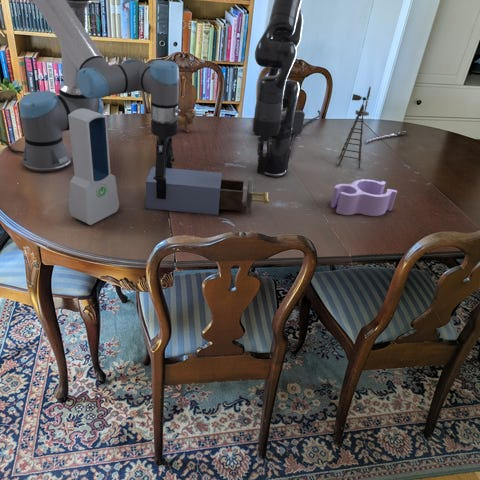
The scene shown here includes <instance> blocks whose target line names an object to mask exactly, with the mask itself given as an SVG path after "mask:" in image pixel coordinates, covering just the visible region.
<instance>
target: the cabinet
mask: <svg viewBox="0 0 480 480" xmlns="http://www.w3.org/2000/svg"><path fill="white" fill-rule="evenodd" d="M155 170H156V166H151V169H150V171H149V173H148V175H147V177H146V180H145V209H148V210H160V211H170V212H171V211H172V212H182V213H191V214H204V215H214V216H215V215H216V216H218V215H219V211H220V209H219V197H220V187H221V179H223V173H222V172H215V171H214V172H213V171H203V170H202V171H201V170H194V169H193V170H192V169H181V168H173V167H172V168H166V175H165V177H166V199H156V180H155V179H154V177H155Z"/></svg>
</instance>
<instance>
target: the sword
mask: <svg viewBox="0 0 480 480" xmlns="http://www.w3.org/2000/svg"><path fill="white" fill-rule="evenodd" d="M404 134H406V133H402V134H400V132H393V133H390V134H387V135H381V136H378V137H374V138H370V139H368V140H366V141H365V144H368V143H370V142H374V141H378V140H381V139H386V138H390V137H394V136H395V137H398V136H399V135H404Z"/></svg>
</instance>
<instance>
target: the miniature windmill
mask: <svg viewBox="0 0 480 480" xmlns="http://www.w3.org/2000/svg"><path fill="white" fill-rule="evenodd" d="M371 90H372V89H371V86H369V87H368V90H367V93H366V94H367V95H366V96H361V95H359V94H355V93H353V94H352V98H351V101H362V104H361V106H360V107H359V108H360V109H359V110H357V109H356V110H355V115H356V117H355V120H354V122H353V123H352V127H351V128H350V131H349V133H348V136H347V138H346V139H345V142H344V144H343V147H342V149H341V152H340V154H339V157H338V158H339V159H340V160H339V162H338V165H339V166H341V164H342V161H343V159H344V158H349V159H354V160H357V162H358V167H357V169H361V161H362V146H363V134H364V132H363V127H364V122H365V121H364V117H367V116H370V114H369V112H368V111H366V110H367V107H368V103H369V100H370V96H371V95H370V94H371ZM358 123H361V124H360V128H357V127H356V126H357V124H358ZM355 130H357V131H355ZM359 131H360V132H359ZM353 133H354V134H359V135H360V136H359V138H352V136H353ZM351 140H352V141H353V140H354V141H358V142H359V143H353V142H350V141H351ZM349 145H354V146H359V147H358V150H352V149H347V148H348V146H349ZM346 151H347V152H350V153H351V152H352V153H358V157H353V156H348V155H345V154H346Z"/></svg>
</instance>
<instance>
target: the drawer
mask: <svg viewBox="0 0 480 480" xmlns="http://www.w3.org/2000/svg"><path fill="white" fill-rule="evenodd" d="M244 183H245V181H244V180H238V179H228V178H222V179H221V187H220V197H219V210H228V211H230V210H231V211H239V212H241V211H242V210H243V209H242V208H243V201H244V199H243V198H244ZM253 196H261V197H263V198H262V199H261V198H253ZM245 200H246V201H245V215H250V214H251V209H252V202H258V203H264V204H265V205H267V204H269V192H266V191H265V192H253V179H250V178H248V181H247V190H246V198H245Z"/></svg>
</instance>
